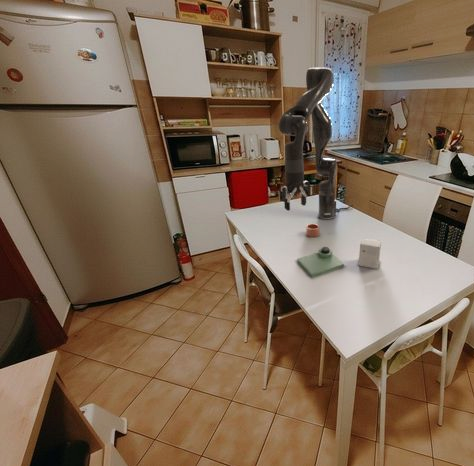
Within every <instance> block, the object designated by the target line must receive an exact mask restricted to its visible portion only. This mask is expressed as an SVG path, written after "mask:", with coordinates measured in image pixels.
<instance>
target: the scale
mask: <svg viewBox="0 0 474 466" xmlns="http://www.w3.org/2000/svg"><path fill="white" fill-rule="evenodd" d="M322 248H323V247H321V248H319V249H318V250H317V252H316V253H311V254H308V255H305V256H302V257H298V258H297V262H298V263H299V265H300V266H301V267H302V269H304V270H305V271H306V273H307V274H309V276H310V277H311V278H314V277H319V276H320V275H323V274H326V273H329V272H332V271H335V270H338V269H341V268H343V267H345V266H344V265H345V264H344V262H342V261H341V260H340V259H339V258H338V257H336V256H335V254H333V250H332V249H331V248H329V253H327V254H323V253H322Z"/></svg>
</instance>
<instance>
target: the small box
mask: <svg viewBox="0 0 474 466" xmlns="http://www.w3.org/2000/svg"><path fill="white" fill-rule="evenodd" d="M381 249H382V240H378V239H377V240H376V239H371V238H365V237H362V239H361V241H360V243H359V253H358V266H361V267H366V268H372V269H377V270H378V267H379V263H380V257H381Z"/></svg>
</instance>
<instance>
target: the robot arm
mask: <svg viewBox="0 0 474 466" xmlns="http://www.w3.org/2000/svg"><path fill="white" fill-rule="evenodd" d="M305 83H306V92H304V93H302V94H301V95H300V96H299V97H298V99H297V100H296V102H295V104H294V105H293V106H292V107H291V108H289V109H287V110H286V111H285V112H284V113H282V115H281V116H280V118H279V120H278V131H279V132H280V134H281V135H284V136H293V137H295V138H294V140H293V141H289V142H286V143H285V144H284V176H285V182H286V185H284V186H282V185H281V186H279V201H281V202H283V203H284V209H285V211H290V210H291V202H290V201H291V199H292V198H293V197H294V196H296V195H300V204H301V206H306V204H307V197H308V196H309V195H311V186H310V185H311V183H310V181H308V180H305V164H304V143H305V140H306V139H305V138H306V135H307V132H308V122H307V121H308V120H309V118H310V116H311V125H312V135H313V141H314V152H315V153H314V154H315V171H316V174H317V176H320V177H328V179H326V180H323V181H320V182H319V183H318V218H319V219H322V220H332V219H334V218H336V217H337V213H339V212H340V211H341V210H348V209H350V208H351V207H354V205H353V204H350V205H349V206H348V207H340V208H337V200H336V186H337V184H336V183H337V171H338V162H337V159H332V158H324V152H325V150H326V147H327V146H328V144H329V143H330V142H331V139H332V137H333V127H332V126H333V125H332V120H331V117H330V116H329V114H328V113H327V111H326V110H325V108H324V106H323V105H322V103H321V101H322V100H323V99H324V98H325V97H326V96H327V95H328V94H329V93H330V92H331V90H332V89H333V86H334V73H333V71H332V69H331V68H329V67H309V68H308V69H307V70H306V75H305Z"/></svg>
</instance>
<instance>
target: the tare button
mask: <svg viewBox="0 0 474 466" xmlns="http://www.w3.org/2000/svg"><path fill="white" fill-rule="evenodd" d="M321 248H322V253H323V254H327V253H329V249H330V248H329V247H328V246H323V247H321Z"/></svg>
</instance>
